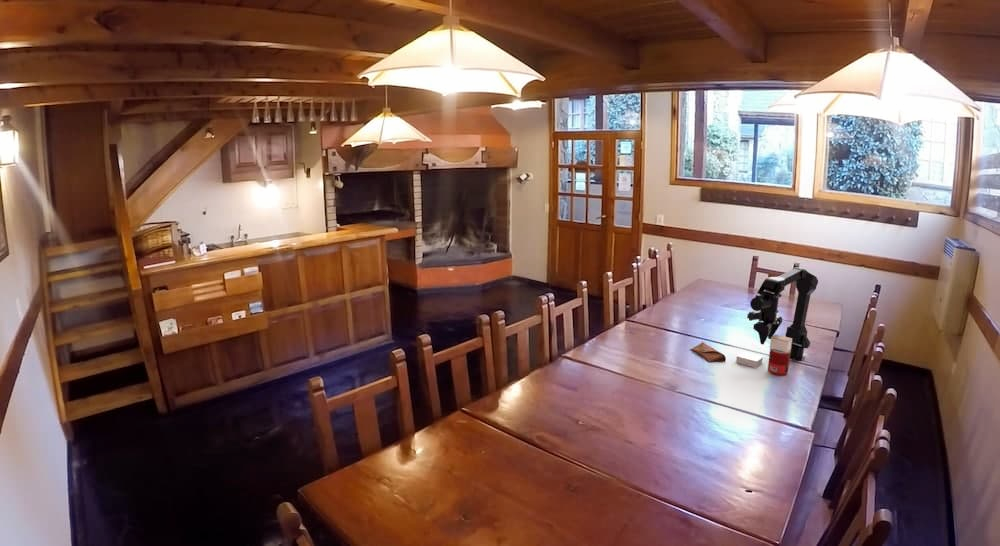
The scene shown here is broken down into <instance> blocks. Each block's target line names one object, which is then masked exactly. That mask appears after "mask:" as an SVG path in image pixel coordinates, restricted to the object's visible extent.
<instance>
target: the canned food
mask: <svg viewBox="0 0 1000 546" xmlns="http://www.w3.org/2000/svg"><path fill="white" fill-rule="evenodd" d="M769 349H770V350H769V357H768V364H767V371H768V373H770V374H771V375H774V376H778V377H779V376H780V377H781V376H787V375H788V373H789V367H790V366H789V365H790V359H791V358H790V353H791V350H789V351H788V352H783V351H779V350H775V349H771V348H770V347H769Z"/></svg>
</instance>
